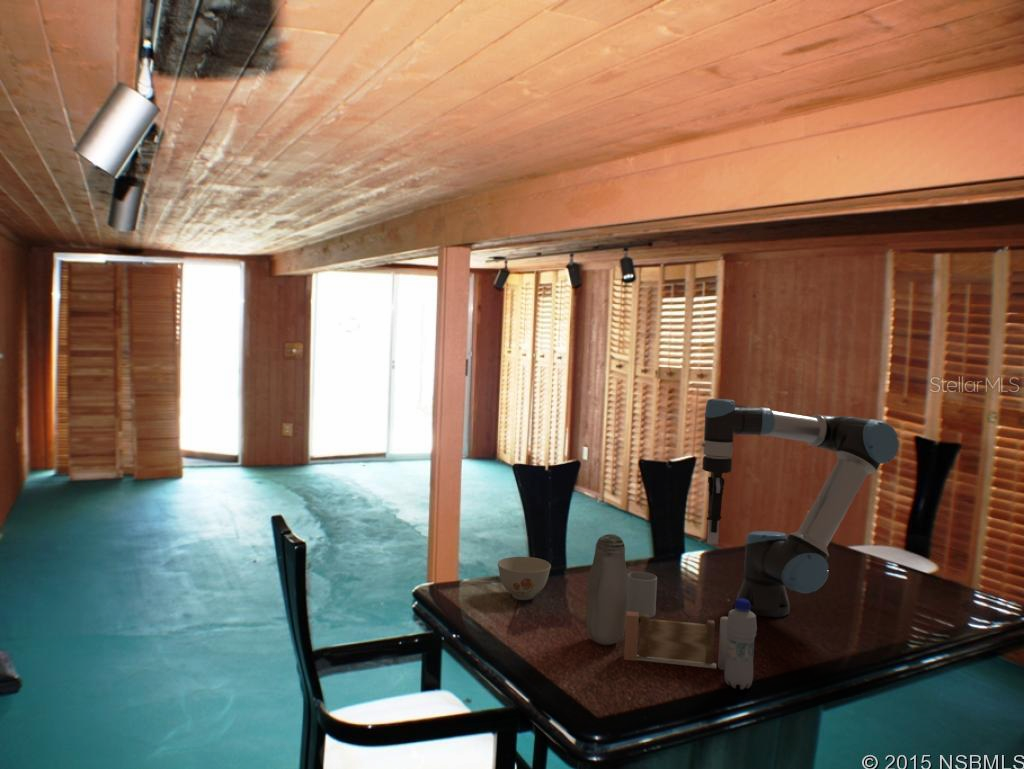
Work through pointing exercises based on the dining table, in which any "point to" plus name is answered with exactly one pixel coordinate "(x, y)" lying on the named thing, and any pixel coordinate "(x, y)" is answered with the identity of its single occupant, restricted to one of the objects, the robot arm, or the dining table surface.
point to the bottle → (740, 645)
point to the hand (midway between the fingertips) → (712, 543)
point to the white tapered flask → (607, 591)
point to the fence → (631, 654)
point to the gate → (676, 640)
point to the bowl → (523, 576)
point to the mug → (642, 593)
